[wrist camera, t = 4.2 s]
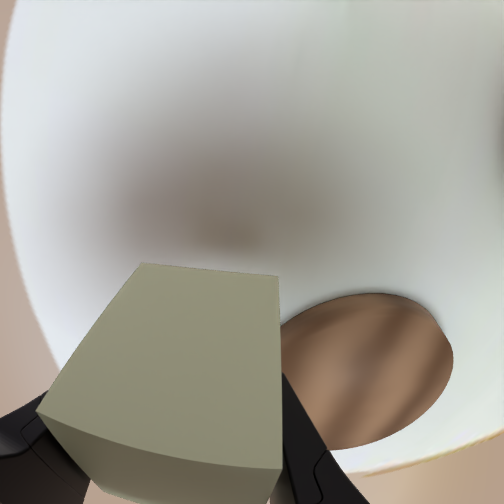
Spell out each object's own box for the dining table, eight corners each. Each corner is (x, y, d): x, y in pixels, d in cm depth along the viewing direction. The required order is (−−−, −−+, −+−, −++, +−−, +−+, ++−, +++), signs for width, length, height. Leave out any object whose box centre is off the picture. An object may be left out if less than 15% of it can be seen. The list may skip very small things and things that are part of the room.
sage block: (278, 276, 10) (282, 468, 4) (264, 373, 13) (256, 522, 6) (141, 262, 11) (35, 410, 4) (155, 359, 13) (103, 491, 6)
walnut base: (469, 297, 20) (485, 317, 17) (397, 423, 28) (403, 443, 25) (260, 284, 21) (258, 309, 18) (244, 425, 28) (242, 448, 25)
